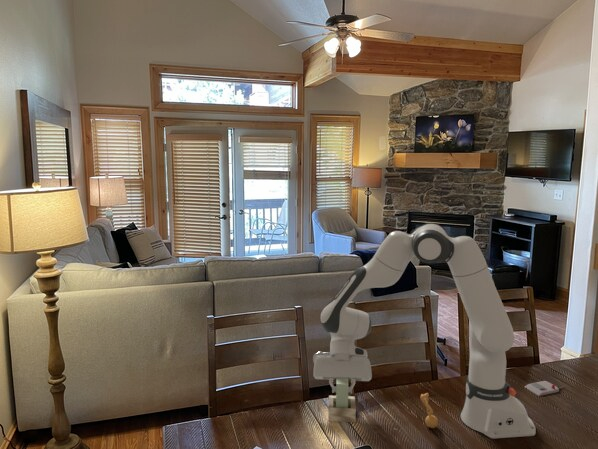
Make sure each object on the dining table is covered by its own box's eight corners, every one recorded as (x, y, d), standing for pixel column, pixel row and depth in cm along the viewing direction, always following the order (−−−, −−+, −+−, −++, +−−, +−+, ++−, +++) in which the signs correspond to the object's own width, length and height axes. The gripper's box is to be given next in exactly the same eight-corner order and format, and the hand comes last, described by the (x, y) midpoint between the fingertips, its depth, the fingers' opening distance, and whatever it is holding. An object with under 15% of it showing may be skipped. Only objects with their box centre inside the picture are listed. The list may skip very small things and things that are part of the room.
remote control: (520, 389, 168) (521, 382, 167) (552, 382, 172) (552, 375, 172) (534, 398, 161) (535, 391, 161) (567, 391, 166) (567, 384, 166)
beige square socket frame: (354, 407, 155) (354, 396, 154) (355, 422, 146) (355, 411, 145) (328, 405, 155) (329, 395, 155) (328, 421, 147) (328, 409, 146)
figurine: (442, 434, 139) (443, 399, 137) (423, 435, 139) (424, 400, 137) (432, 419, 147) (434, 386, 146) (415, 419, 147) (416, 386, 145)
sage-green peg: (347, 405, 152) (348, 378, 151) (347, 412, 148) (348, 384, 147) (336, 405, 152) (336, 378, 151) (336, 411, 148) (336, 384, 147)
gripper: (313, 348, 156) (311, 388, 148) (371, 350, 154) (372, 391, 146) (313, 354, 161) (312, 394, 153) (370, 357, 159) (371, 396, 151)
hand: (342, 392), depth 149 cm, fingers closed on sage-green peg, 4 cm apart
